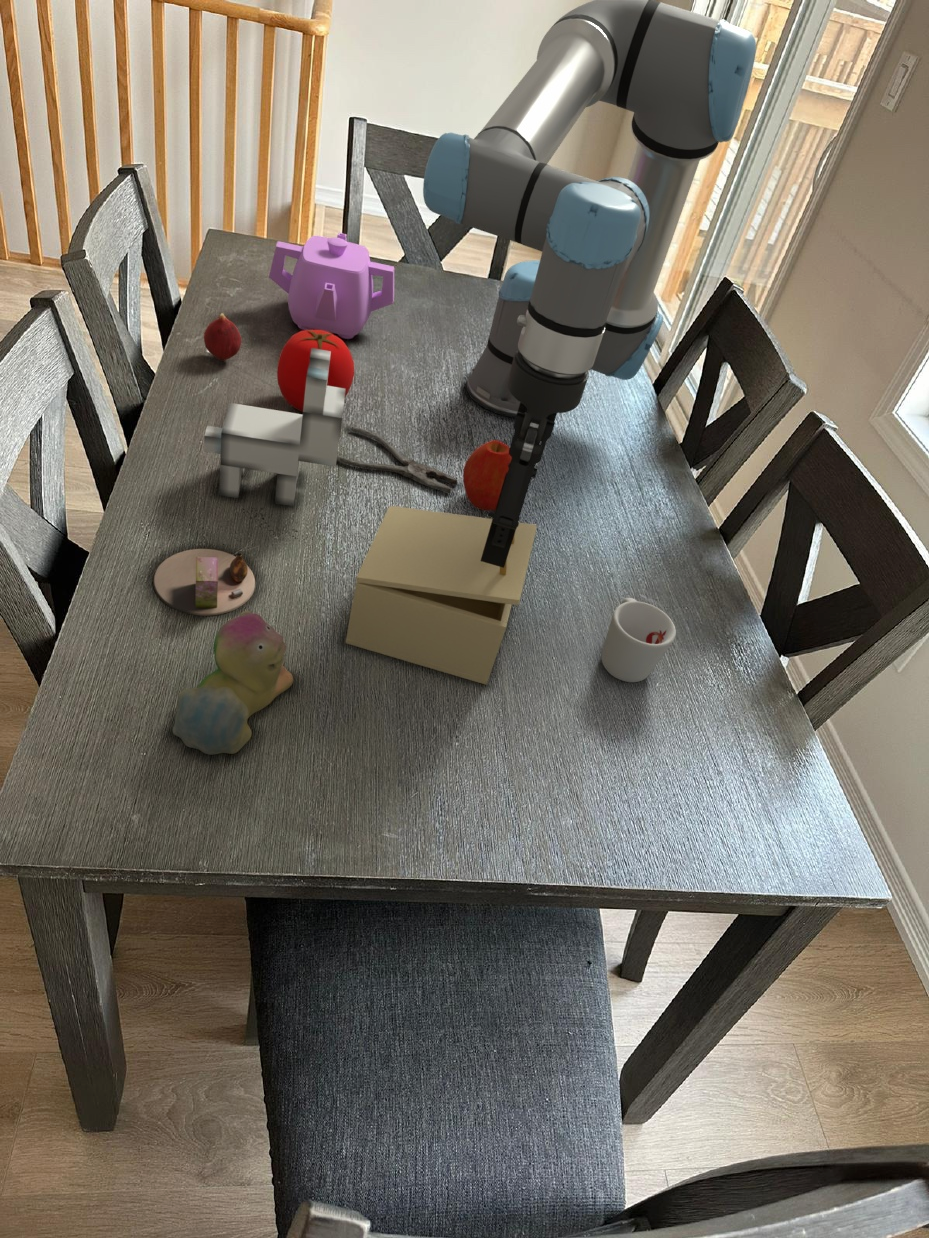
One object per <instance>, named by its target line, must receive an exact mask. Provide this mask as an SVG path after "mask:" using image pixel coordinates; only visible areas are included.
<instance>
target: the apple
mask: <svg viewBox="0 0 929 1238" xmlns="http://www.w3.org/2000/svg"><path fill="white" fill-rule="evenodd" d="M509 448H510V446H508V445H507V444H505V442H502V441H500V440H495V439H492V440H489V441H487V442H484V443H483V444H482V445H480V446H479V447H477V448H476V449H475V450H474V451H472V452H471V454H470V456H468V458H467V460H466V461H465V464H464V467H463V470H462V471H463V473H462V478H463V479H462V482H463V485H464V486H463V487H464V491H465V494H466V497H467V499H468V501H469V503H470V505H472V506H473V507H474V508H476V509H479V510H481V511H485V512H489V509H490V510H493V511H495V510H496V506H497V503H498V499H499V496H500V492H501V489H502V485H503V482H504V478H505V475H506V472H507V473H508V469H509V468H508V465H509V463H510V461H511V459H512V457H511V456H510V455H509Z"/></svg>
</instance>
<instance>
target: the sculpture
mask: <svg viewBox="0 0 929 1238" xmlns="http://www.w3.org/2000/svg"><path fill="white" fill-rule="evenodd" d="M286 651H287V644H286V643H285V641H284V636H283V634H281V633H279V632H277V630H276V629H275V628H274V627H273V626H272V625H270V624H269V623H268V622H266V620H265V619H264V618H263V617H262V615H260V614H259V613H254V612H252V611H251V610H244V611H242V612H240V613H239V615H238V616H235V617H232V618H231V619H229V620H227V621H226V622H224V624H222V626H221V627H220V628H219V630H218V632H217V633H216V635H215V638H214V641H213V657H214V660H215V665H216V669H215V670H213V671H212V672H210V673H208V674H207V675H206V676H205V677H204V678H203V679H202V680H201V681H200V683H199V684H198V685H197V687H190V688H185V689H183V690H182V691H181V692H180V693H179V694H178V697H177V700H176V706H177V710H176V713H175V716H174V725H173V727H172V734H173V735H174V736H176V737H179V739H181V740H182V742H183V744H184V745H185V746H186V747H188V748H191V749H196V750H199V751H200V752H202V753H204V754H206V755H219V754H230V755H232V754H236V753H238V752H239V751H240V750H241V749H243V747H244V746H245V745H246V744H247V743H248V742H249V741H250V739H251V738H252V729H251V727H250V726H249V724H248V719H249V718H250V717H251V716H253V715H254V714H255V713H257V712H259V711H261V710H263V709H264V708H267V706H268V705H270V704H271V703H273V701H274V700H275V698H277V697H278V696H279V695H281V694H282V693H284V692H285V691H287V690H288V689H289V688H291V687H292V686H293V683H294V676H293V674H292V673H291V672H290V671H288V670H287V668H286V667H285V666H284V665H283V664H284V661H285V657H286V656H285V654H286Z"/></svg>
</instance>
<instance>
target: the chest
mask: <svg viewBox="0 0 929 1238" xmlns="http://www.w3.org/2000/svg"><path fill="white" fill-rule="evenodd" d="M354 585H355V587H354V592H353V598H352V603H351V609H350V614H349V621H348V626H347V632H346V637H345V644H347V645H351V646H354V647H358V648H360V649H364V650H366V651H367V650H368V651H371V652H373V653H377V654H381V655H384V656H386V657H387V656H388V657H391V658H394V659H398V660H401V661H404V662H408V663H411V664H415V665H417V666H421V667H425V668H429V669H431V670H435V671H438V672H442V673H444V674H448V675H451V676H455V677H458V678H462V679H465V680H468V681H472V682H476V683H479V684H482V685H485V686H487V685H488V682H489V679H490V677H491V674H492V671H493V667H494V665H495V662H496V658H497V656H498V653H499V650H500V647H501V644H502V641H503V638H504V635H505V632H506V629H507V626H508V622H509V616H510V614H511V610H512V606H513V605H512V604H505V603H498V602H491V601H484V600H477V599H470V598H463V597H456V596H449V595H442V594H435V593H428V592H421V591H414V590H407V589H399V588H392V587H385V586H378V585H371V584H364V583H357V581H356V582H355V584H354Z"/></svg>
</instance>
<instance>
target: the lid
mask: <svg viewBox="0 0 929 1238" xmlns="http://www.w3.org/2000/svg"><path fill="white" fill-rule="evenodd" d="M384 514H385V515H384V516H383V519H382V521H381V523H380V526H379V528H378V529H377V532H376V534H375V536H374V538H373V540H372V542H371V545H370V547H369V549H368V551H367V554H366V556H365V558H364V560H363V561H362V564H361V566H360V569H359V571H358V573H357V575H356V582H357V583H364V584H371V585H378V586H385V587H392V588H399V589H407V590H414V591H421V592H428V593H435V594H442V595H449V596H456V597H463V598H470V599H477V600H484V601H491V602H498V603H505V604H512V605H511V606H520V603H521V597H522V593H523V589H524V585H525V582H526V581H525V580H526V576H527V571H528V567H529V563H530V559H531V555H532V551H533V546H534V541H535V538H536V533H537V529H538V528H537V527H538V525H537V524H534V523H526V522H519V525H518V527H517V529H516V531H515V534H514V537H513V541H512V544H511V547H510V550H509V553H508V556H507V560H506V563H505V566H504V568H503V567H499V566H496V565H492V564H489V563H485V562H482V561H481V557H482V554H483V550H484V547H485V543H486V540H487V537H488V533H489V530H490V526H491V523H492V519H493V518H490V517H479V516H473V515H466V514H465V515H464V514H458V513H457V514H456V513H450V512H443V511H442V512H441V511H434V510H426V509H420V508H412V507H405V506H396V505H389V506H388V509H387V510H386V512H385V513H384Z"/></svg>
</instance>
